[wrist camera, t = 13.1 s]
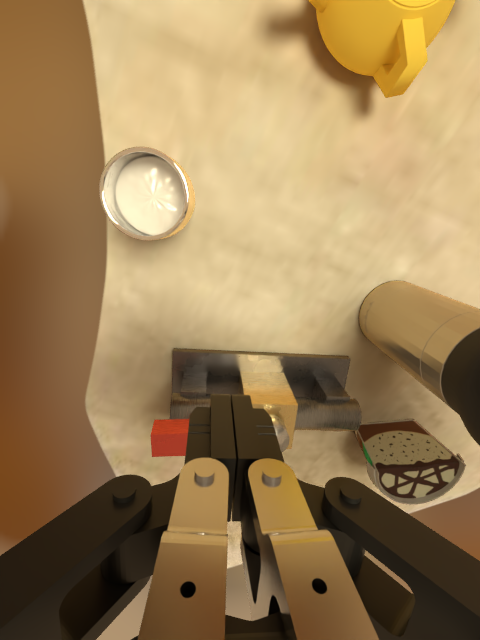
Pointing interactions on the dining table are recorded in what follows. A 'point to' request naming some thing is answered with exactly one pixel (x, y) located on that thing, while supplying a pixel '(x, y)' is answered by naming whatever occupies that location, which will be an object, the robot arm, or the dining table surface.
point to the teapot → (382, 36)
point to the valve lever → (174, 433)
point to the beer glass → (146, 194)
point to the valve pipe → (268, 386)
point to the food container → (408, 461)
